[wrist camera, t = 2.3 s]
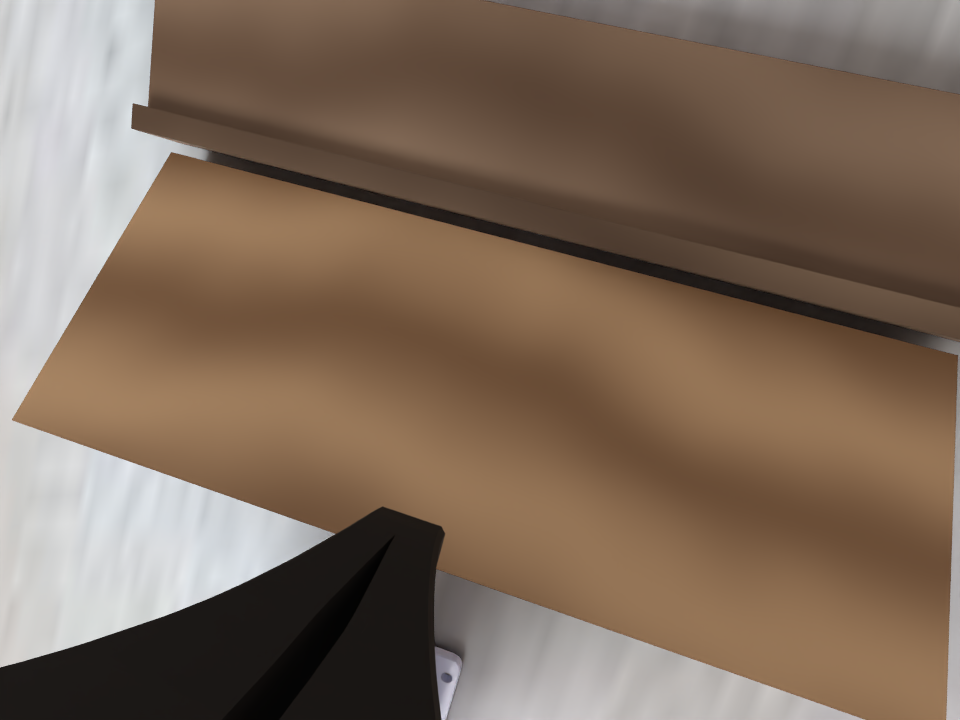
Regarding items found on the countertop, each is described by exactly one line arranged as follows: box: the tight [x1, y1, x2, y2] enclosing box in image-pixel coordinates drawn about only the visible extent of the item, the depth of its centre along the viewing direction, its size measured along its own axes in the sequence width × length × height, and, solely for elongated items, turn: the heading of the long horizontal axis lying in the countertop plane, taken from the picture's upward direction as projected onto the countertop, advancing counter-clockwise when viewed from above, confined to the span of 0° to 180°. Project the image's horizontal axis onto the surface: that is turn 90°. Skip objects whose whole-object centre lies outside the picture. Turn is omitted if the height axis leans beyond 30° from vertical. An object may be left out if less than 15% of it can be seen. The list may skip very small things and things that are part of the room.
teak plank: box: [12, 152, 958, 720], centre depth 15 cm, size 10×26×2 cm, turn 76°
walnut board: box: [131, 0, 960, 342], centre depth 15 cm, size 6×28×2 cm, turn 76°
